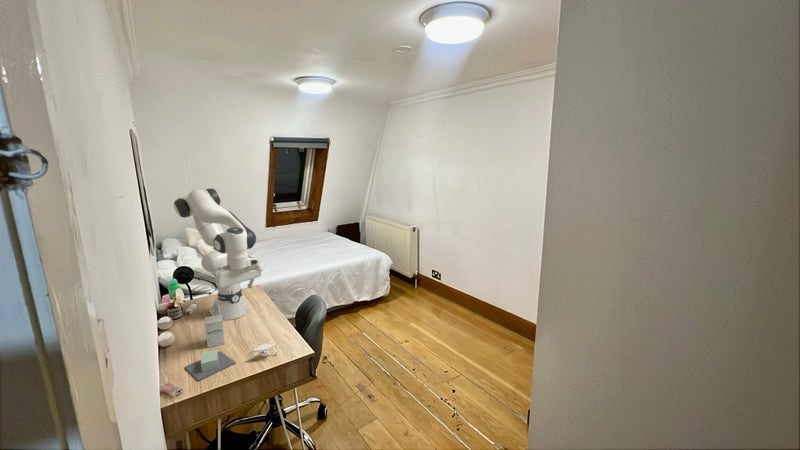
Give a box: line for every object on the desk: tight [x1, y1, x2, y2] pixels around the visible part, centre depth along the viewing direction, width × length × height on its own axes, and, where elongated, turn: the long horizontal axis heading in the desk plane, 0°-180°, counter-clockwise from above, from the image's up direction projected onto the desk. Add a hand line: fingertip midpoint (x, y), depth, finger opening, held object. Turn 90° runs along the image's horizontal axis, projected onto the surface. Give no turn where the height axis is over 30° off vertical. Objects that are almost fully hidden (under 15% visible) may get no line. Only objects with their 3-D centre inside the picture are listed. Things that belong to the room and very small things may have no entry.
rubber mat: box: [184, 350, 237, 382], centre depth 145 cm, size 14×15×1 cm
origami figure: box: [247, 343, 280, 360], centre depth 152 cm, size 12×8×5 cm
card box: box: [200, 348, 218, 372], centre depth 145 cm, size 6×9×4 cm, turn 29°
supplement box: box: [204, 314, 226, 349], centre depth 162 cm, size 7×7×13 cm
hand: (240, 290), depth 159 cm, fingers open, 8 cm apart
